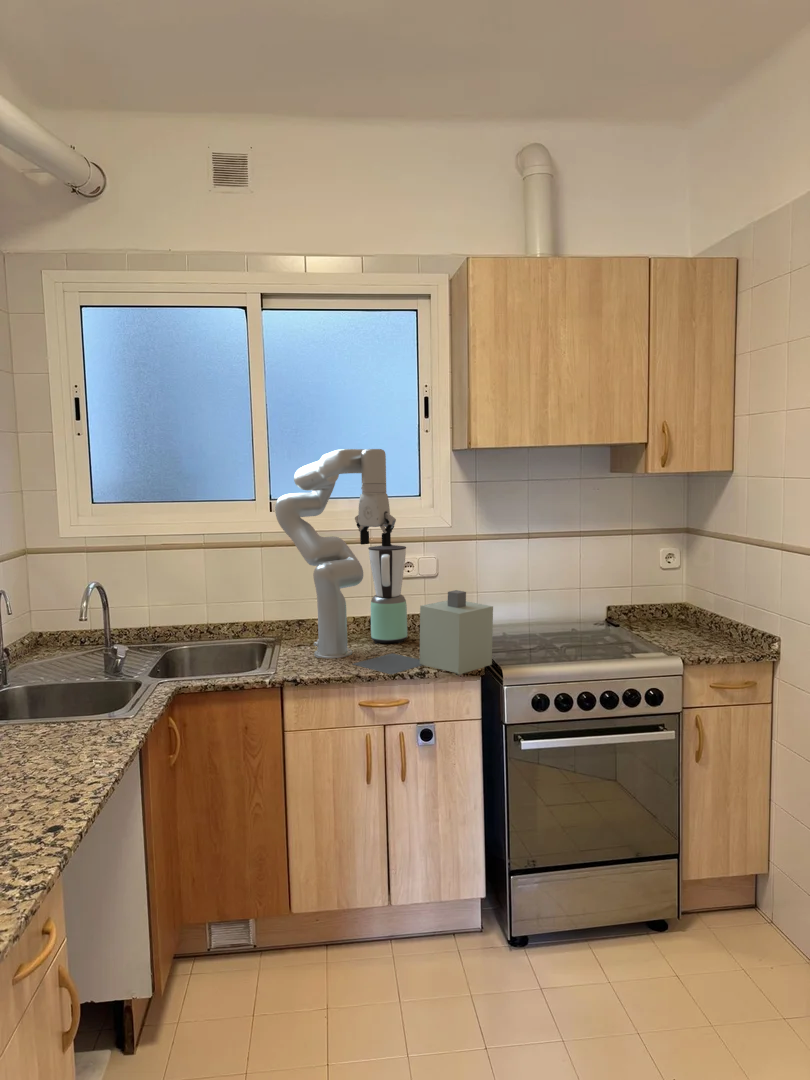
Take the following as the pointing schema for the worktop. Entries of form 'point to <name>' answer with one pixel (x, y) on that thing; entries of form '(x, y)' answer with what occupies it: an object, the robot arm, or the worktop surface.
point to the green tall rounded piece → (388, 594)
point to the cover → (456, 634)
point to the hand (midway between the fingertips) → (375, 545)
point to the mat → (390, 663)
